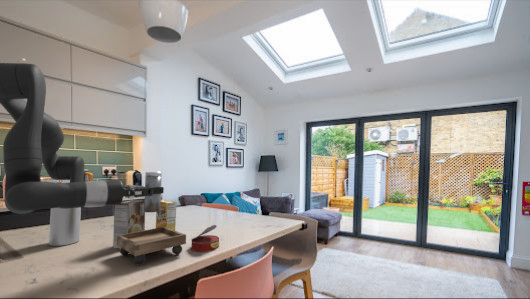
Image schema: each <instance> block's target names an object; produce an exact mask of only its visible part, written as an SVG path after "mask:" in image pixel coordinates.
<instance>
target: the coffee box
mask: <svg viewBox="0 0 530 299" xmlns="http://www.w3.org/2000/svg"><path fill="white" fill-rule="evenodd" d="M144 200H145V199H144ZM144 200H143V199H142V200H140V199H137V200H136V199H130V200H126V201H125V200H124V201H122V202H121V203H120V204H119V205H113V210H114V211H113V238H112V241H113V242H112V248H113V249H120V248H121V247H120V246H118V245H117V235H122V234H127V233H133V232H138V231H144V230H146V229H145V225H146V223H145V222H146V212H144Z"/></svg>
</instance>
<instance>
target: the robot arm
mask: <svg viewBox="0 0 530 299" xmlns="http://www.w3.org/2000/svg"><path fill="white" fill-rule="evenodd" d="M46 95H47V83H46V79H45V75H44V73H43V71H42V69H41V68H40V67H39V66H38V65H37V64H34V63H23V62H22V63H21V62H19V63H18V62H0V105H1V106H2V107H3V108H4V110H6V112H7V113H8V114H9V115H10V116H11V118H12V119H13V120H14V122H15V123H14V124H13V126H12V127H11V128H10V129H9V130H8V133H6V135H5V138H4V140H3V145H2V150H3V154H2V156H3V167H4V168H3V169H4V172H5V179H4V180H5V181H4V206H5V208H6V209H7V210H8V211H10V212H11V213H14V214H18V215H26V214H29V213H33V212H34V211H39V210H48V209H50V219H49V234H48V245H49V246H52V247H58V246H59V247H60V246H67V245H71V244H75V243H78V242H79V241H80V234H81V217H82V216H81V213H82V208H96V207H97V208H98V207H99V208H100V207H107V206H108V207H110V206H114V205H119V204H120V203H121V202H123V199H124V198H125V199H134V198H145V196H152V195H153V194H161V195H163V194H164V191H165V189H164V187H163V186H161V187H145V185H138V184H135V185H132V184H125V186H124V184H123V182H122V180H120V179H112V180H111V179H110V180H106V179H105V180H102V179H101V180H89V181H84V174H85V160H84V158H83V157H81V156H78V155H77V156H73V155H72V156H69V155H67V156H65V155H62V156H61V155H58V154H57V152H58V151H59V149H60V148H61V147H62V145H63V143H64V141H65V135H64V131H63V130H62V128H61V126H60V124H59V123H58V121H57V120H56V119H55V118H54V117H53V116H51V115H49V114H48V113H46V112H45V106H46V103H45V102H46V97H47V96H46ZM43 166H44V169H45V171H46V174H47V176H48V177H49V178H51V179H52V180H57V181H69V182H56V181H54V182H53V181H42V180H41V173H42V172H41V171H42V170H43ZM147 190H148V193H147Z"/></svg>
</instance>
